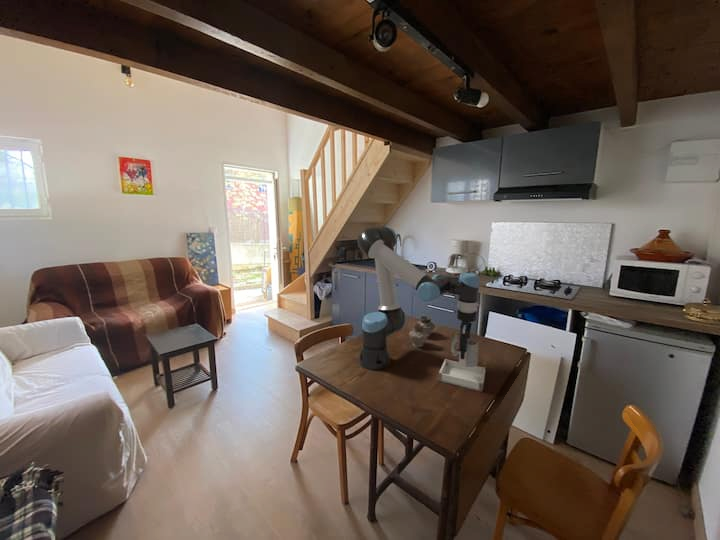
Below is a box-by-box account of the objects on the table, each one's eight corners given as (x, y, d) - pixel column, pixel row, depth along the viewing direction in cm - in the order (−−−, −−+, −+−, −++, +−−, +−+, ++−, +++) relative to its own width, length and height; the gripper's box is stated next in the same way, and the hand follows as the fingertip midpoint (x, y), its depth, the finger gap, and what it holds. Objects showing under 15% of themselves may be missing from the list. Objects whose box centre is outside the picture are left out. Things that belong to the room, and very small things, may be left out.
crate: (438, 380, 126) (438, 372, 125) (444, 365, 138) (445, 358, 137) (482, 391, 118) (482, 383, 118) (484, 375, 130) (485, 367, 129)
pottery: (405, 346, 157) (406, 325, 155) (417, 329, 179) (418, 311, 177) (426, 351, 153) (427, 329, 150) (436, 333, 175) (437, 314, 172)
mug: (474, 369, 120) (476, 342, 118) (446, 360, 128) (448, 334, 125) (480, 362, 126) (482, 336, 123) (454, 353, 134) (455, 329, 131)
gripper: (473, 319, 111) (469, 374, 116) (479, 304, 129) (475, 352, 134) (453, 316, 115) (450, 369, 119) (461, 302, 132) (458, 349, 137)
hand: (463, 360), depth 126 cm, fingers closed on mug, 7 cm apart
